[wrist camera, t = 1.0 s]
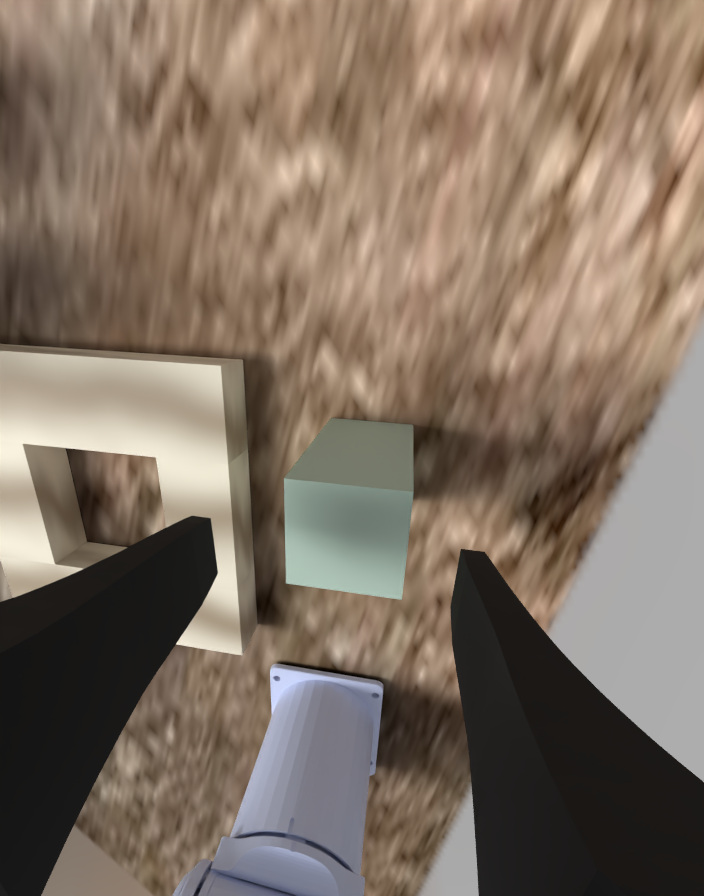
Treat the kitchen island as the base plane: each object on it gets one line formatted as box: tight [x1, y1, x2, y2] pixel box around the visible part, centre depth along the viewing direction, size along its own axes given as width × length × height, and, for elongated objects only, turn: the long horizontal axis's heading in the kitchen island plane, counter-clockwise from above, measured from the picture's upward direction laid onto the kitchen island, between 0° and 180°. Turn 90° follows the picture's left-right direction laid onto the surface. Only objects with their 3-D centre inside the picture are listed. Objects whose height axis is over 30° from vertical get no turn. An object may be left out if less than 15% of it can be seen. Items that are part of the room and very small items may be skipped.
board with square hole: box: [0, 344, 257, 655], centre depth 23 cm, size 18×16×2 cm
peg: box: [284, 418, 414, 600], centre depth 17 cm, size 4×4×8 cm
